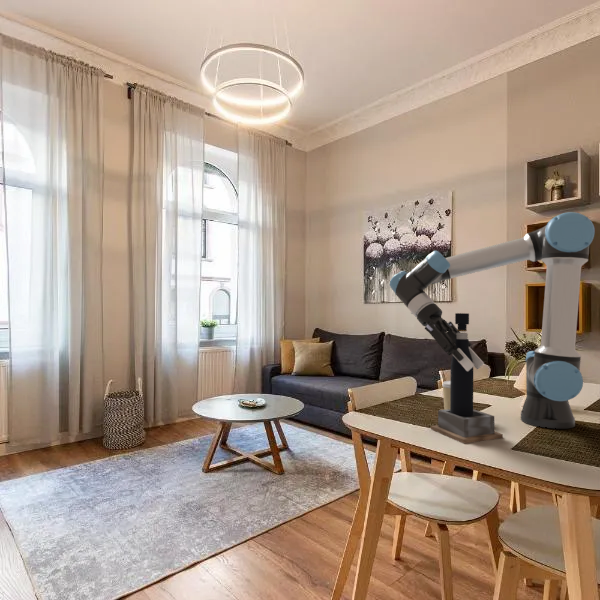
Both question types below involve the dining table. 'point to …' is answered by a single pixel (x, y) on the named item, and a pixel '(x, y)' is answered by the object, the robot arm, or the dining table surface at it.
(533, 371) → the robot arm
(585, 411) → the dining table surface
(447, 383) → the coffee cup
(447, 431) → the collar stand
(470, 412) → the wine bottle
